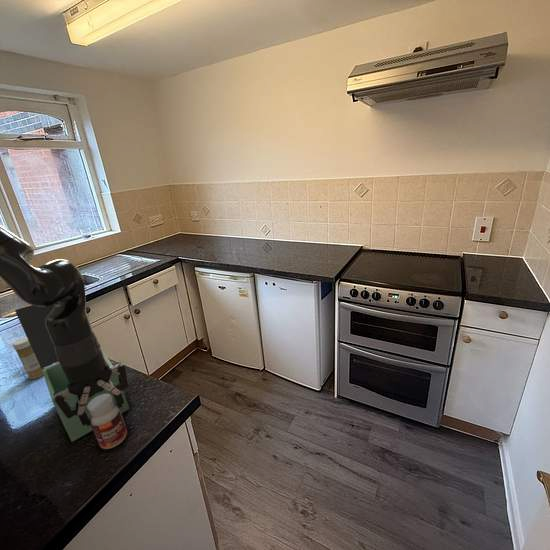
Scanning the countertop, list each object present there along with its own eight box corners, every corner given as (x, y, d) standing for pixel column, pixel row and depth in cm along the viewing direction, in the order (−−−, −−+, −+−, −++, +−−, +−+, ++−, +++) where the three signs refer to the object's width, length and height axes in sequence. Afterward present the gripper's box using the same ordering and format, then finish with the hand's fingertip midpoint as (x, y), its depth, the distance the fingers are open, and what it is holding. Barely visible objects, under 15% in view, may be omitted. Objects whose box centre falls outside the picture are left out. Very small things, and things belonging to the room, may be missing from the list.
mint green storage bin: (129, 408, 80) (115, 368, 75) (71, 442, 72) (51, 399, 67) (111, 382, 91) (98, 345, 86) (60, 408, 83) (41, 369, 78)
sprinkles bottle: (46, 368, 101) (31, 334, 96) (45, 376, 97) (29, 341, 92) (29, 374, 99) (13, 340, 94) (28, 382, 95) (10, 346, 90)
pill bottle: (108, 454, 68) (92, 416, 63) (94, 442, 71) (78, 406, 67) (133, 434, 72) (119, 397, 68) (118, 423, 76) (105, 388, 71)
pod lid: (77, 291, 82) (76, 290, 82) (14, 310, 73) (14, 309, 74) (98, 344, 86) (97, 344, 86) (41, 368, 77) (41, 368, 78)
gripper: (111, 333, 70) (130, 389, 76) (36, 363, 61) (65, 424, 67) (121, 345, 64) (141, 404, 71) (41, 380, 56) (72, 445, 62)
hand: (104, 414), depth 69 cm, fingers closed on pill bottle, 6 cm apart
